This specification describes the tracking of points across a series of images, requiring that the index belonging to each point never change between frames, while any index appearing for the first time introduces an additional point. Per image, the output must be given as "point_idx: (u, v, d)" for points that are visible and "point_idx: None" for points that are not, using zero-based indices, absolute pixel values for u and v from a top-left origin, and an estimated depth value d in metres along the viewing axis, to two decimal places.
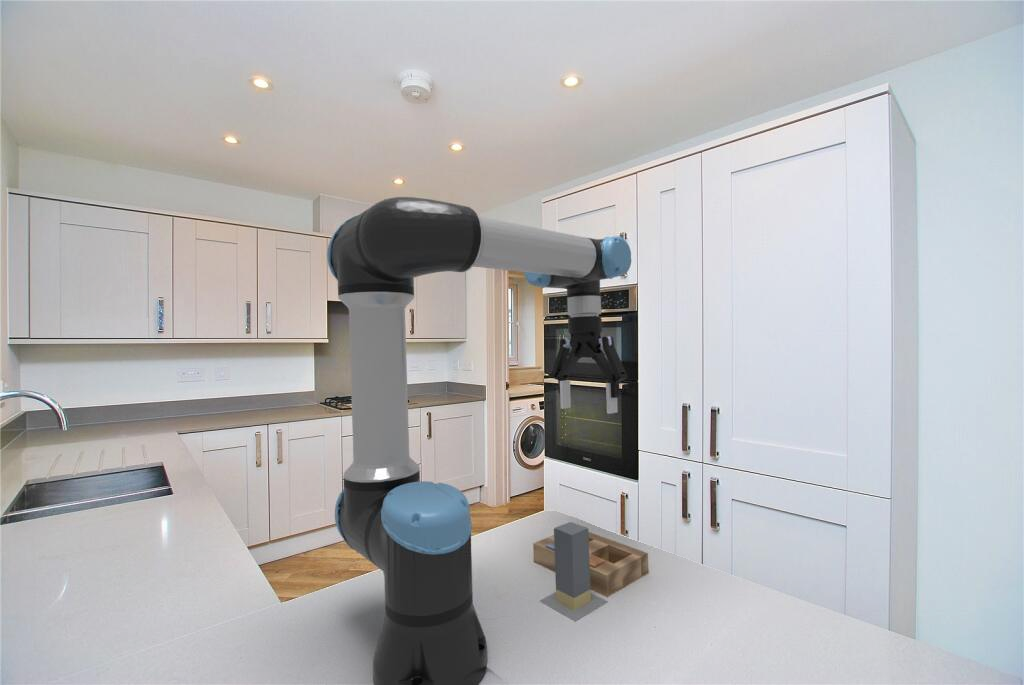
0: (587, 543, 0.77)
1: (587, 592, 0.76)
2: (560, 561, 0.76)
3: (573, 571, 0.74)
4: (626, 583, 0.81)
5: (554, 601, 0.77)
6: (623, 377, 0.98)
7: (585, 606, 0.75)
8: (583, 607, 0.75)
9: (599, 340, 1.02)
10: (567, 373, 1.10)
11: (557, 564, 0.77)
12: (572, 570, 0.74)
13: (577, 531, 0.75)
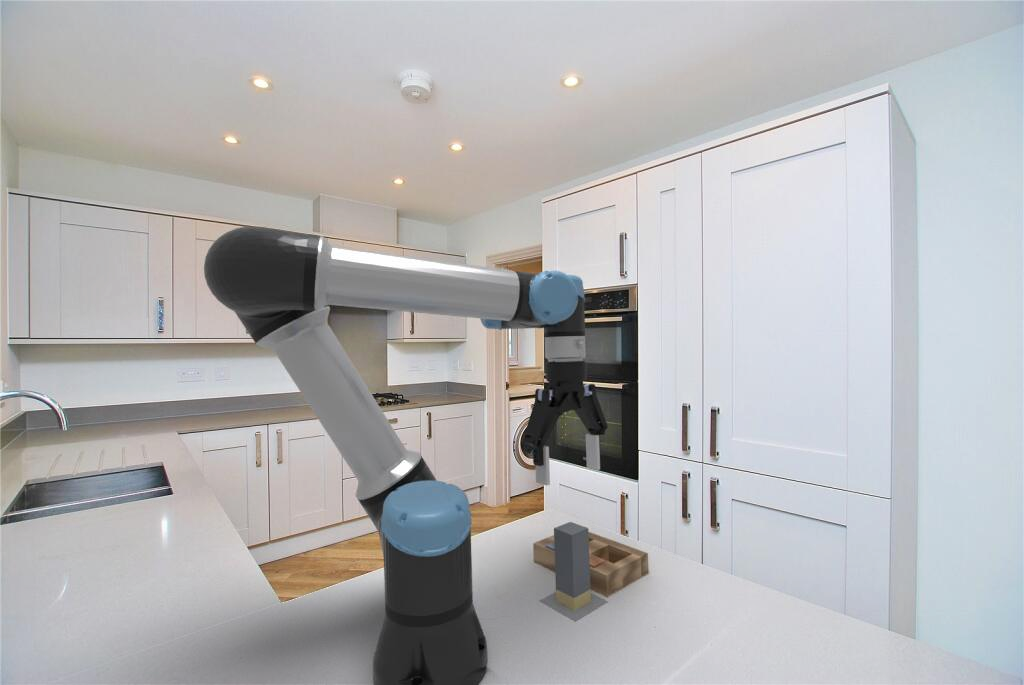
0: (587, 543, 0.77)
1: (587, 592, 0.76)
2: (560, 561, 0.76)
3: (573, 571, 0.74)
4: (626, 583, 0.81)
5: (554, 601, 0.77)
6: (527, 442, 0.79)
7: (585, 606, 0.75)
8: (583, 607, 0.75)
9: None
10: (590, 426, 0.90)
11: (557, 564, 0.77)
12: (572, 570, 0.74)
13: (577, 531, 0.75)
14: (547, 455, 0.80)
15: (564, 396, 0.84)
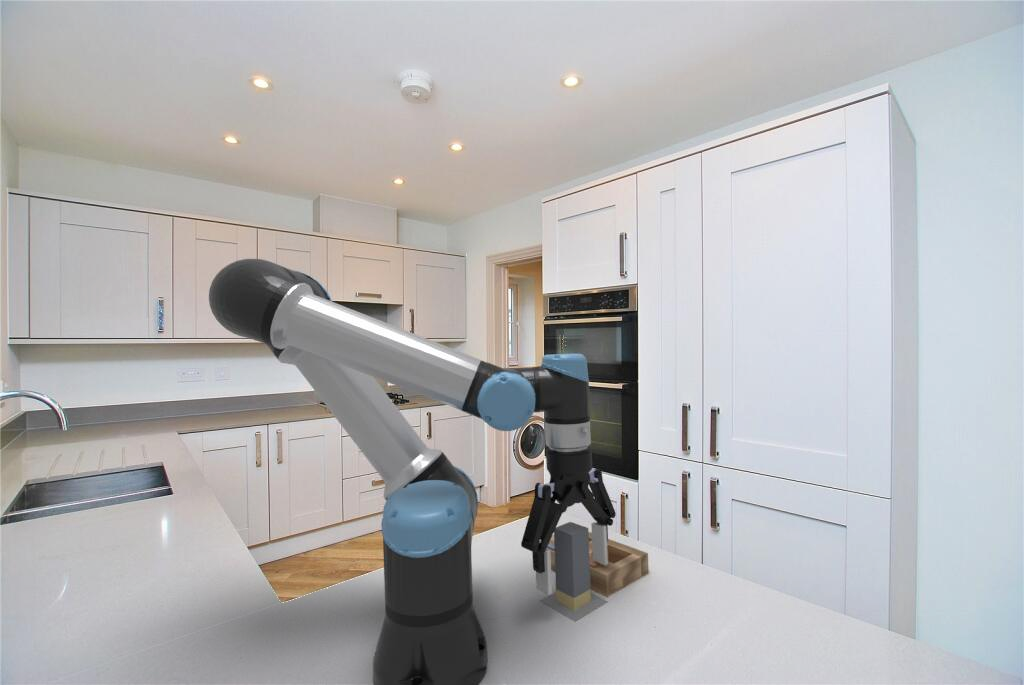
0: (587, 543, 0.77)
1: (587, 592, 0.76)
2: (560, 561, 0.76)
3: (573, 571, 0.74)
4: (626, 583, 0.81)
5: (554, 601, 0.77)
6: (526, 547, 0.71)
7: (585, 606, 0.75)
8: (583, 607, 0.75)
9: None
10: (596, 516, 0.81)
11: (557, 564, 0.77)
12: (572, 570, 0.74)
13: (577, 531, 0.75)
14: (549, 560, 0.72)
15: (567, 490, 0.75)
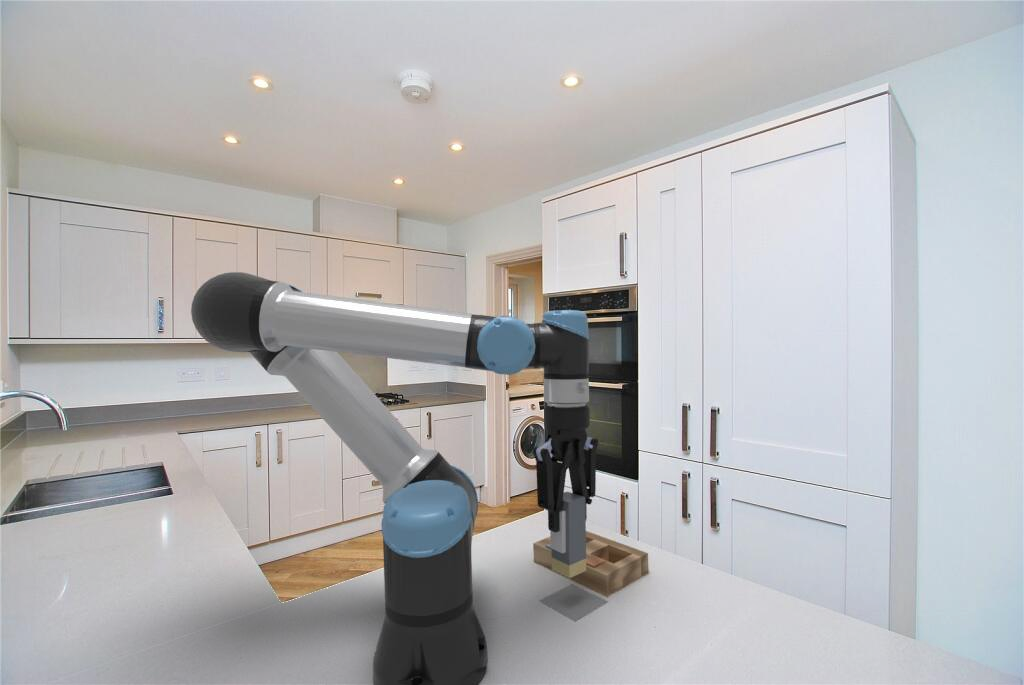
0: (584, 512, 0.77)
1: (583, 561, 0.76)
2: None
3: (569, 538, 0.74)
4: (626, 583, 0.81)
5: (554, 601, 0.77)
6: (542, 506, 0.73)
7: (585, 606, 0.75)
8: (583, 607, 0.75)
9: None
10: (577, 489, 0.78)
11: None
12: (568, 537, 0.74)
13: (574, 499, 0.75)
14: (564, 520, 0.74)
15: (564, 448, 0.75)
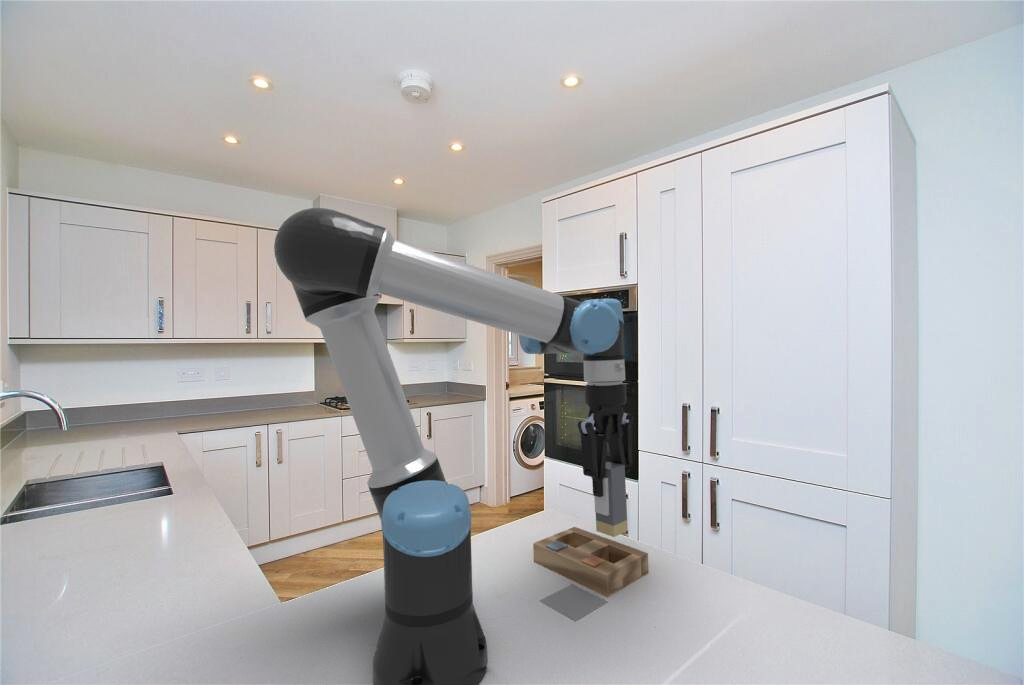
0: (624, 478, 0.85)
1: (624, 522, 0.85)
2: None
3: (612, 501, 0.83)
4: (626, 583, 0.81)
5: (554, 601, 0.77)
6: (588, 474, 0.82)
7: (585, 606, 0.75)
8: (583, 607, 0.75)
9: None
10: (616, 459, 0.87)
11: None
12: (611, 500, 0.83)
13: (615, 467, 0.84)
14: (607, 486, 0.83)
15: (605, 422, 0.84)
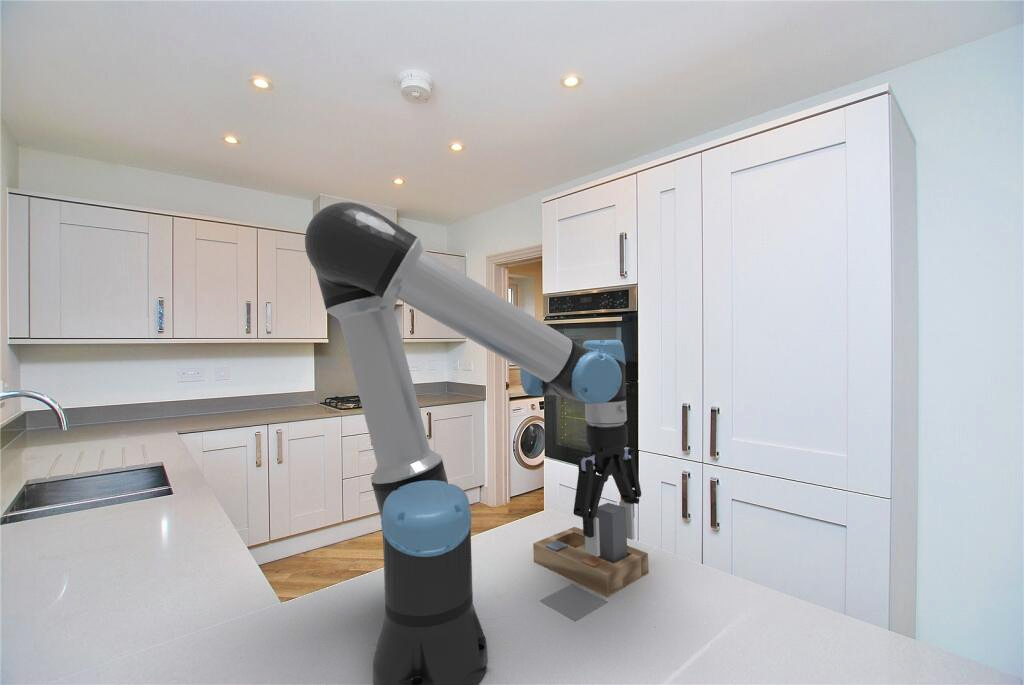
0: (625, 521, 0.85)
1: None
2: (600, 537, 0.85)
3: (613, 545, 0.83)
4: (626, 583, 0.81)
5: (554, 601, 0.77)
6: (578, 514, 0.81)
7: (585, 606, 0.75)
8: (583, 607, 0.75)
9: None
10: (625, 493, 0.89)
11: None
12: (612, 544, 0.83)
13: (617, 510, 0.84)
14: (597, 527, 0.82)
15: (606, 462, 0.84)
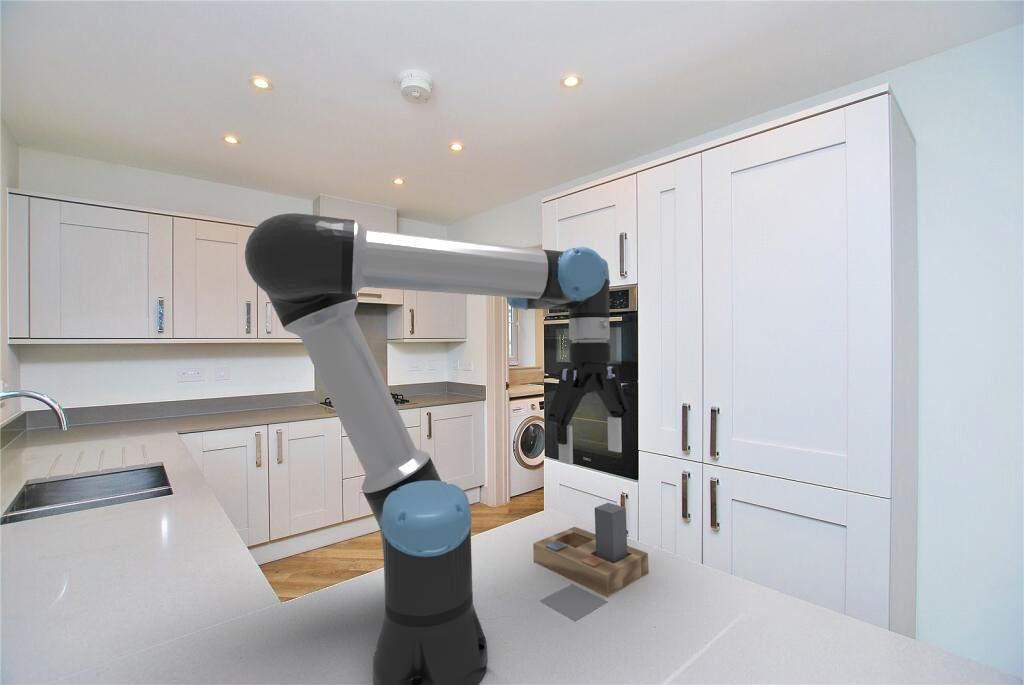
0: (625, 521, 0.85)
1: None
2: (600, 537, 0.85)
3: (613, 545, 0.83)
4: (626, 583, 0.81)
5: (554, 601, 0.77)
6: (551, 420, 0.80)
7: (585, 606, 0.75)
8: (583, 607, 0.75)
9: None
10: (612, 409, 0.90)
11: (598, 540, 0.85)
12: (612, 544, 0.83)
13: (617, 510, 0.84)
14: (570, 434, 0.81)
15: (587, 377, 0.84)
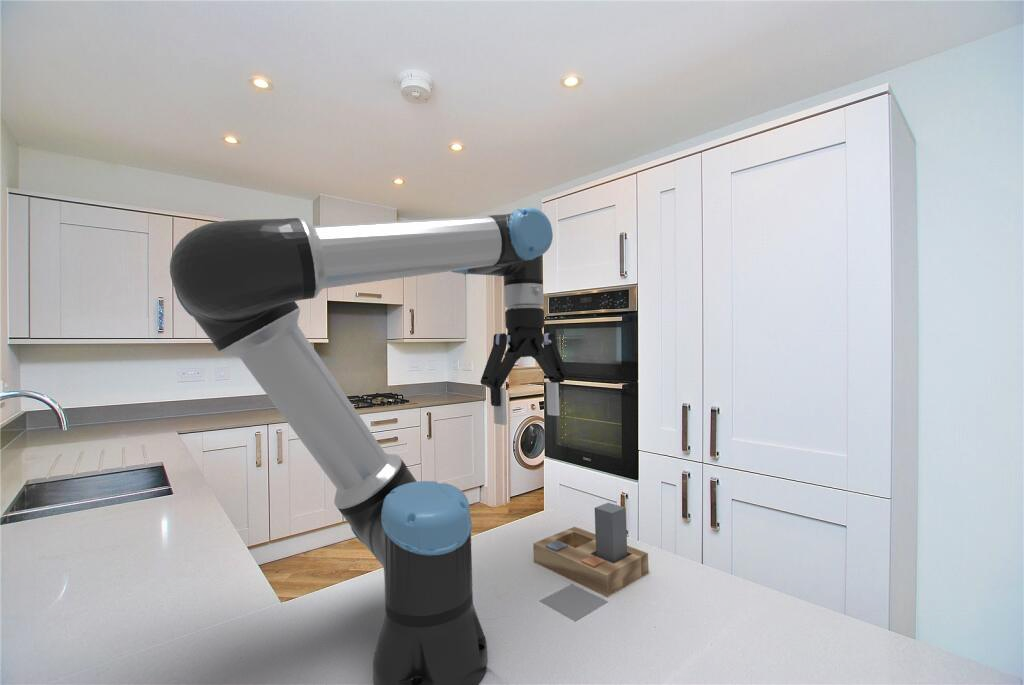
0: (625, 521, 0.85)
1: None
2: (600, 537, 0.85)
3: (613, 545, 0.83)
4: (626, 583, 0.81)
5: (554, 601, 0.77)
6: (484, 382, 0.83)
7: (585, 606, 0.75)
8: (583, 607, 0.75)
9: None
10: (550, 374, 0.93)
11: (598, 540, 0.85)
12: (612, 544, 0.83)
13: (617, 510, 0.84)
14: (504, 396, 0.84)
15: (522, 342, 0.87)
